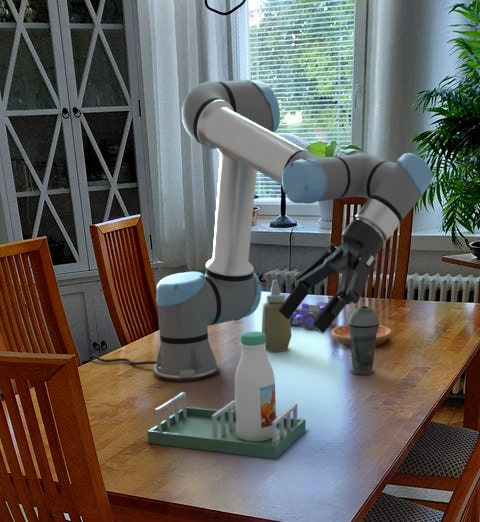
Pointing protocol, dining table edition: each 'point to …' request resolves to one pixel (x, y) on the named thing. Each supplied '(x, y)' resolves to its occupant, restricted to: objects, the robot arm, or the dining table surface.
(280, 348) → the squeeze bottle
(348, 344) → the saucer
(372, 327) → the beverage cup
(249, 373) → the milk bottle
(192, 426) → the drying rack
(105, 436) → the dining table surface
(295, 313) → the toy race car
